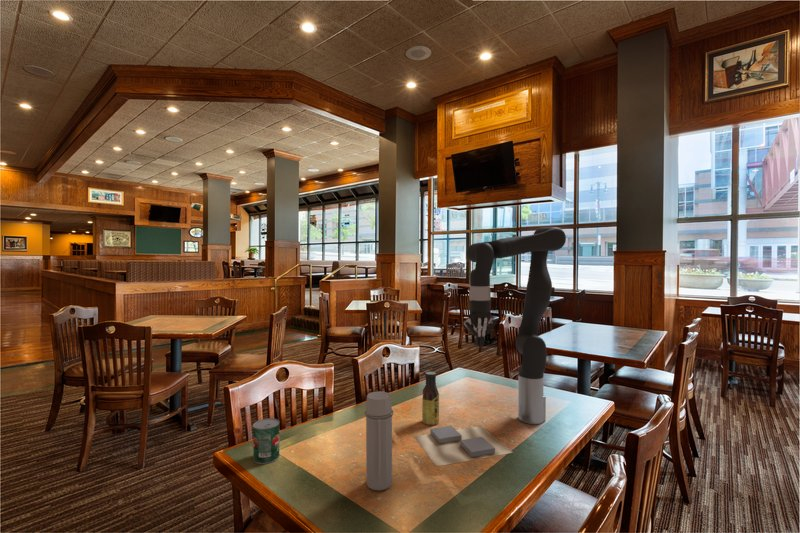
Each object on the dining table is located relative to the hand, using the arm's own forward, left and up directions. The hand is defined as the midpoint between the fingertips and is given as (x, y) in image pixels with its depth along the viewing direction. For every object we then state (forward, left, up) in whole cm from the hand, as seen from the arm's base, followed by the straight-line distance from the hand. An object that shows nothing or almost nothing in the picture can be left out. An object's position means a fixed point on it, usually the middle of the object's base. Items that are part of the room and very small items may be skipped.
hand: (479, 346), depth 138 cm
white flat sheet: (+12, +9, -31) cm, 34 cm away
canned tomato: (+73, -5, -31) cm, 80 cm away
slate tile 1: (+11, +3, -28) cm, 31 cm away
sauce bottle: (+15, -10, -31) cm, 36 cm away
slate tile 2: (+5, +14, -28) cm, 32 cm away
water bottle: (+43, +21, -31) cm, 57 cm away
